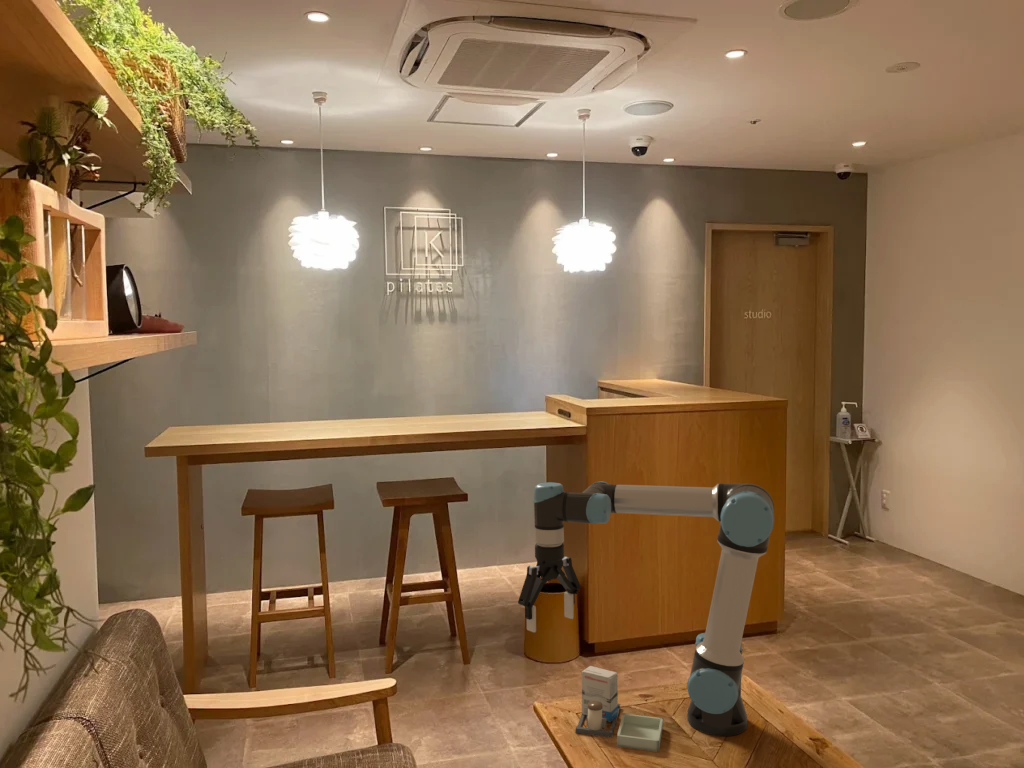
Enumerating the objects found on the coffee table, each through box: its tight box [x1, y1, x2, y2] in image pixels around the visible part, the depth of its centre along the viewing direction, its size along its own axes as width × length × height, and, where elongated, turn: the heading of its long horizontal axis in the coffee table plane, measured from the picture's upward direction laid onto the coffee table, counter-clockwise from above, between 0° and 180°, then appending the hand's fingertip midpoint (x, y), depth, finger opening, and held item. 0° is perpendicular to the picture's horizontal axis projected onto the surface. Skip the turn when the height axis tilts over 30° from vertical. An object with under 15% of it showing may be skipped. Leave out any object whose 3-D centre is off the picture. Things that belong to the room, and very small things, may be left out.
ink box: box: [581, 665, 619, 723], centre depth 217 cm, size 9×5×12 cm, turn 57°
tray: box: [616, 712, 664, 753], centre depth 206 cm, size 10×12×3 cm
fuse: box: [587, 701, 603, 730], centre depth 209 cm, size 4×4×7 cm
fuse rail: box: [575, 703, 621, 739], centre depth 215 cm, size 9×16×2 cm, turn 165°
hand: (550, 624), depth 213 cm, fingers open, 13 cm apart
